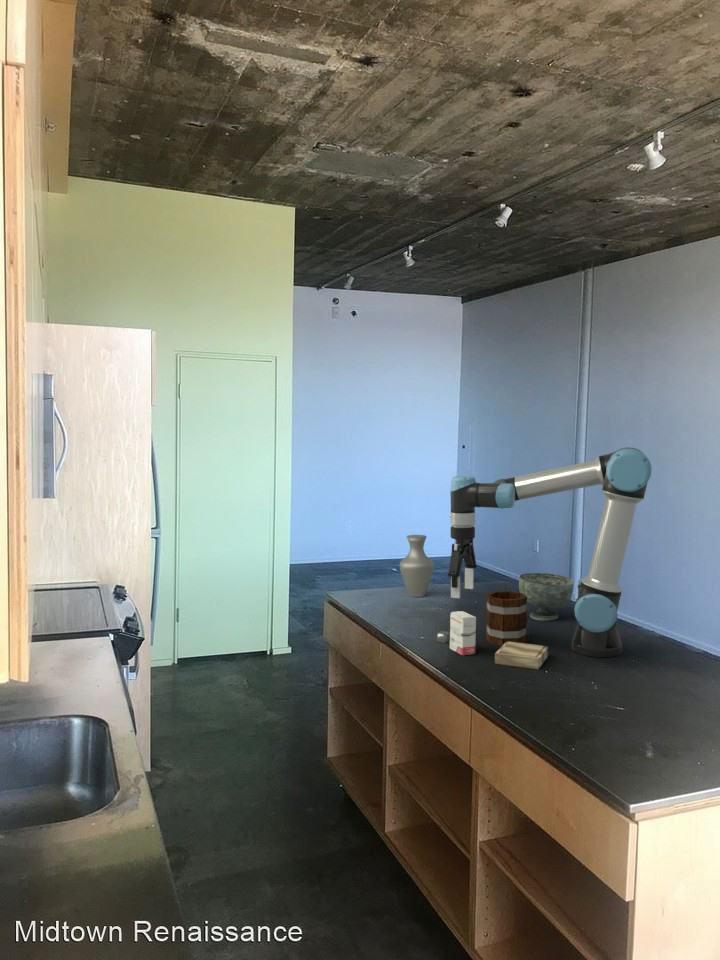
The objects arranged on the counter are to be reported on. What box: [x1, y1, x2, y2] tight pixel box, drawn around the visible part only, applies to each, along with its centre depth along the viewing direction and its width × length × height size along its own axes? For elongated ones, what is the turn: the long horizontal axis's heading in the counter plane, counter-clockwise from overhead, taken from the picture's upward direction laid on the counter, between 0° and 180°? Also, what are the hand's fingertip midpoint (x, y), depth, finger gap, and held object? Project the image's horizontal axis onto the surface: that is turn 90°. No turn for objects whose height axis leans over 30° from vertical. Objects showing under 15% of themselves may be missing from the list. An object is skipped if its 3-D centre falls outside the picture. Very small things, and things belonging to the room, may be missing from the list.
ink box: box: [449, 610, 477, 656], centre depth 234 cm, size 9×5×12 cm, turn 22°
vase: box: [399, 534, 435, 598], centre depth 309 cm, size 14×14×25 cm
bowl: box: [518, 572, 575, 622], centre depth 273 cm, size 20×19×15 cm
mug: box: [485, 590, 528, 647], centre depth 248 cm, size 20×14×15 cm
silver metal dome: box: [436, 630, 450, 645], centre depth 245 cm, size 4×4×3 cm
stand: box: [494, 642, 549, 670], centre depth 225 cm, size 13×13×4 cm
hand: (462, 593), depth 233 cm, fingers open, 13 cm apart
